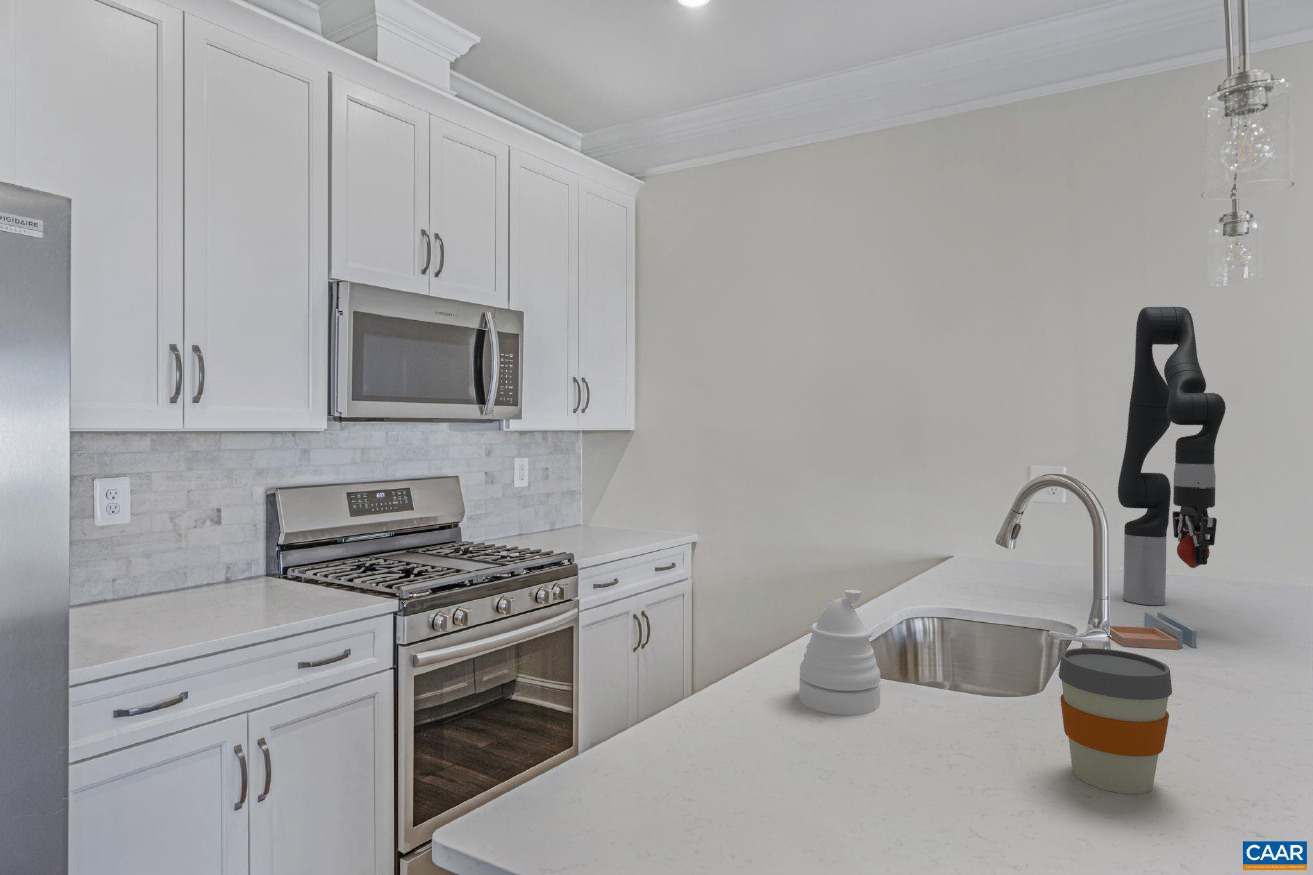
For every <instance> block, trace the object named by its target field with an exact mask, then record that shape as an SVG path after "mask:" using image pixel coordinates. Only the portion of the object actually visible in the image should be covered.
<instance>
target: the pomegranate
mask: <svg viewBox="0 0 1313 875" xmlns="http://www.w3.org/2000/svg"><path fill="white" fill-rule="evenodd" d="M1198 538H1199V537H1198ZM1194 547H1196V546H1195V544H1194V539H1193V537H1192V536H1190V532H1189V536H1187V537H1185V538H1184V539H1182V540H1181V541H1180V542H1178V544H1177V546H1176V553H1177V556H1178V558H1179V559H1180V560H1181V561H1182V562H1183V563H1185V564H1186V565H1187V566H1188V567H1189V568H1191V569H1196V568H1198V567H1199V566H1200V565H1198V564H1195V563H1194ZM1210 554H1211V553H1210V546H1209V547H1207V560H1208V559H1209V557H1210Z"/></svg>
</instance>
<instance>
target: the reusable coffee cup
mask: <svg viewBox="0 0 1313 875" xmlns="http://www.w3.org/2000/svg"><path fill="white" fill-rule="evenodd" d="M1059 663H1060V664H1059V669H1058V678H1059V679H1060V680H1061V686H1062V694H1061V696H1060V707H1061V714H1062V724H1063V731H1064V734H1065V735H1066V736H1067V737H1068V745H1069V752H1070V754H1069V755H1070V760H1071V761H1070V762H1071V770H1072V773H1073V775H1074V776H1075V777H1076V778H1078V779H1079V780H1080V781H1082V782H1083V783H1085V784H1087V785H1089V786H1091V787H1095V788H1097V789H1101V790H1104V791H1107V792H1113V793H1116V794H1117V793H1118V794H1123V795H1125V794H1126V795H1141V794H1145V793H1149V792H1150V791H1152V790H1153V788H1154V784H1155V783H1154V782H1155V776H1156V771H1157V765H1158V760H1159V754H1161V753H1162V752H1163V751H1164V748H1165V743H1166V736H1167V732H1168V731H1167V729H1168V725H1169V719H1170V714H1169V712H1168V711H1167V708H1168V707H1167V706H1168V702H1169V697H1171V695H1172V694H1173V688H1172V677H1171V670H1170V667H1169V665H1167V664H1165V663H1163V661H1160V660H1157V659H1155V658H1152V657H1149V656H1145V655H1142V654H1138V653H1134V652H1128V651H1124V650H1118V649H1108V648H1099V647H1080V648H1079V647H1078V648H1077V647H1076V648H1071V649H1070V648H1069V649H1065V650H1064V651H1063V652H1062V653H1061V656H1060V662H1059Z"/></svg>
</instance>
